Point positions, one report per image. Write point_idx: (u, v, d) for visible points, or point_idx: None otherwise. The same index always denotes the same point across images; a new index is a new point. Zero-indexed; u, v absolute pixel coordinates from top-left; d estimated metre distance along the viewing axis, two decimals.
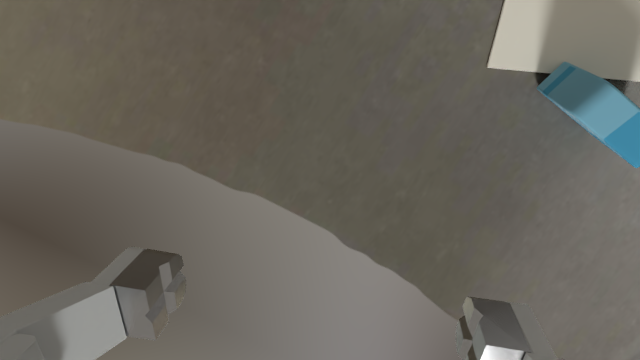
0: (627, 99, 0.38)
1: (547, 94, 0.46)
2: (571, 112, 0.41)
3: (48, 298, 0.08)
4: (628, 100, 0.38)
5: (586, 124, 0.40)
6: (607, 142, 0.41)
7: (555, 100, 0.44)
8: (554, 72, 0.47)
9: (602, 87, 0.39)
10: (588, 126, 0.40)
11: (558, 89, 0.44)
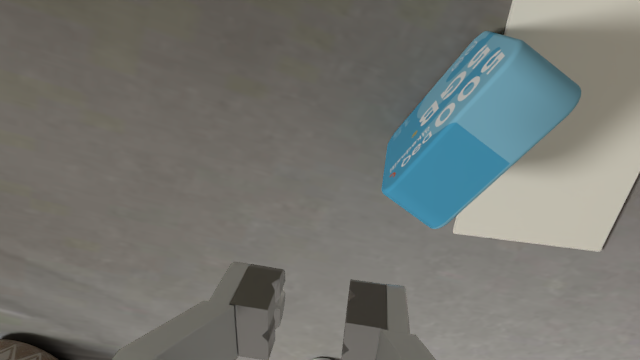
0: (540, 138, 0.20)
1: (497, 34, 0.24)
2: (519, 47, 0.19)
3: (174, 319, 0.08)
4: (537, 140, 0.20)
5: (492, 80, 0.19)
6: (445, 130, 0.21)
7: (506, 36, 0.22)
8: None
9: (572, 90, 0.19)
10: (487, 86, 0.19)
11: None
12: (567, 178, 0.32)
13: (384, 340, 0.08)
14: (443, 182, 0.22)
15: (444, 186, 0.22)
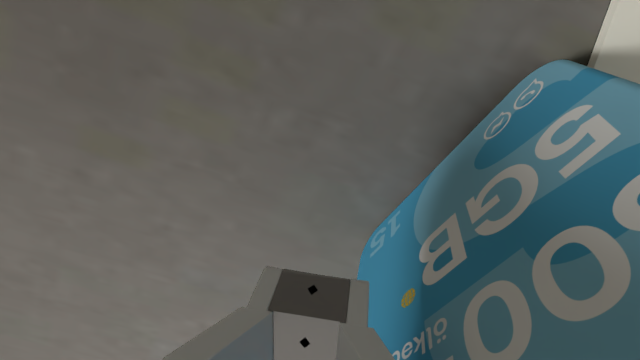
0: None
1: (617, 77, 0.09)
2: None
3: (214, 326, 0.08)
4: None
5: None
6: None
7: None
8: None
9: None
10: None
11: None
12: None
13: (342, 333, 0.08)
14: None
15: None
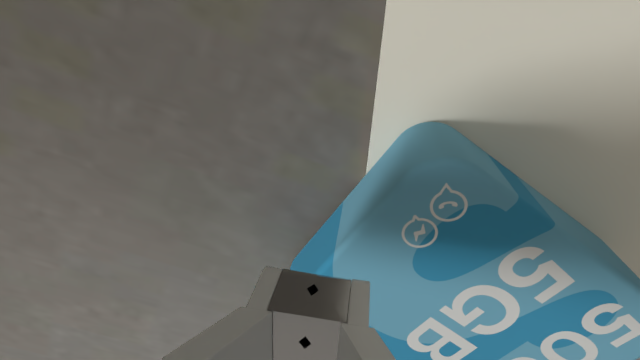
0: None
1: (551, 221, 0.12)
2: None
3: (214, 326, 0.08)
4: None
5: None
6: None
7: (604, 262, 0.12)
8: (463, 142, 0.14)
9: None
10: None
11: (560, 220, 0.13)
12: None
13: (343, 333, 0.08)
14: None
15: None
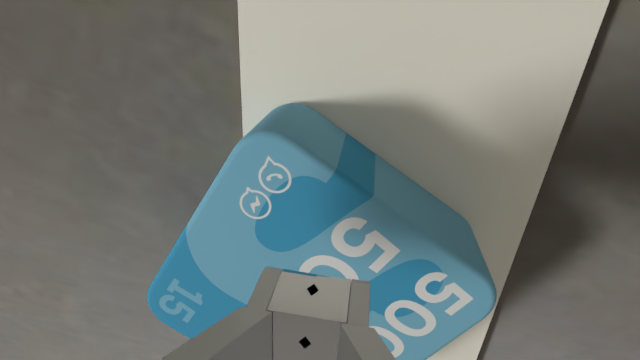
0: None
1: (369, 193, 0.13)
2: (495, 292, 0.14)
3: (214, 326, 0.08)
4: None
5: (469, 327, 0.15)
6: None
7: (423, 232, 0.13)
8: (309, 120, 0.15)
9: None
10: (463, 332, 0.15)
11: (392, 194, 0.14)
12: None
13: (343, 333, 0.08)
14: None
15: None
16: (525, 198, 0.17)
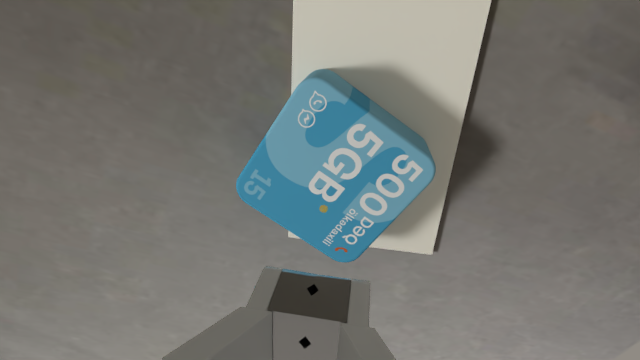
0: None
1: (367, 110, 0.25)
2: (434, 165, 0.26)
3: (214, 326, 0.08)
4: None
5: (422, 190, 0.27)
6: (392, 221, 0.28)
7: (395, 131, 0.25)
8: (333, 76, 0.27)
9: None
10: (419, 193, 0.27)
11: (379, 114, 0.26)
12: None
13: (343, 333, 0.08)
14: None
15: None
16: (456, 124, 0.29)
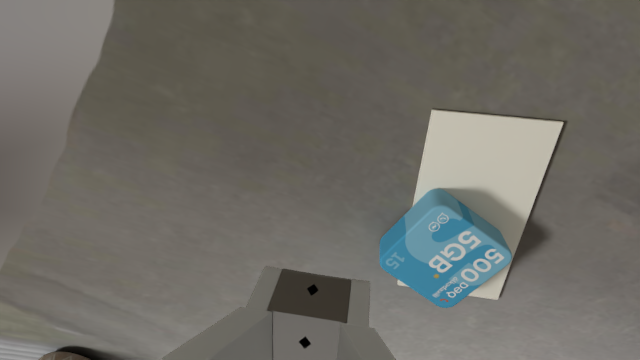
0: None
1: (472, 223, 0.41)
2: (511, 255, 0.42)
3: (214, 326, 0.08)
4: None
5: (502, 268, 0.43)
6: (480, 285, 0.45)
7: (489, 235, 0.41)
8: (448, 197, 0.43)
9: None
10: None
11: (477, 223, 0.42)
12: None
13: (343, 333, 0.08)
14: None
15: None
16: (522, 223, 0.45)
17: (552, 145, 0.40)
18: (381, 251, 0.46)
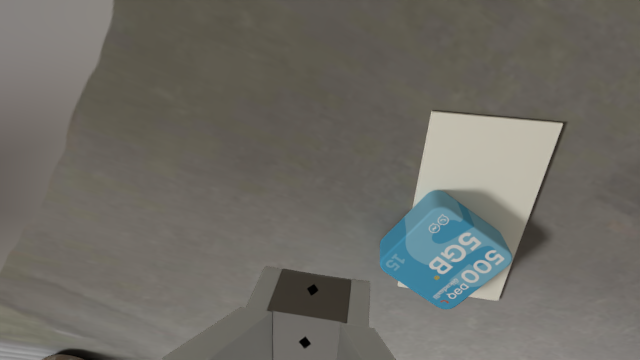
0: None
1: (473, 225, 0.41)
2: None
3: (214, 326, 0.08)
4: None
5: (502, 269, 0.43)
6: (480, 286, 0.45)
7: (489, 237, 0.41)
8: (448, 199, 0.43)
9: None
10: (500, 271, 0.43)
11: (478, 224, 0.42)
12: None
13: (343, 333, 0.08)
14: None
15: None
16: (522, 224, 0.45)
17: (552, 146, 0.40)
18: (381, 253, 0.46)
